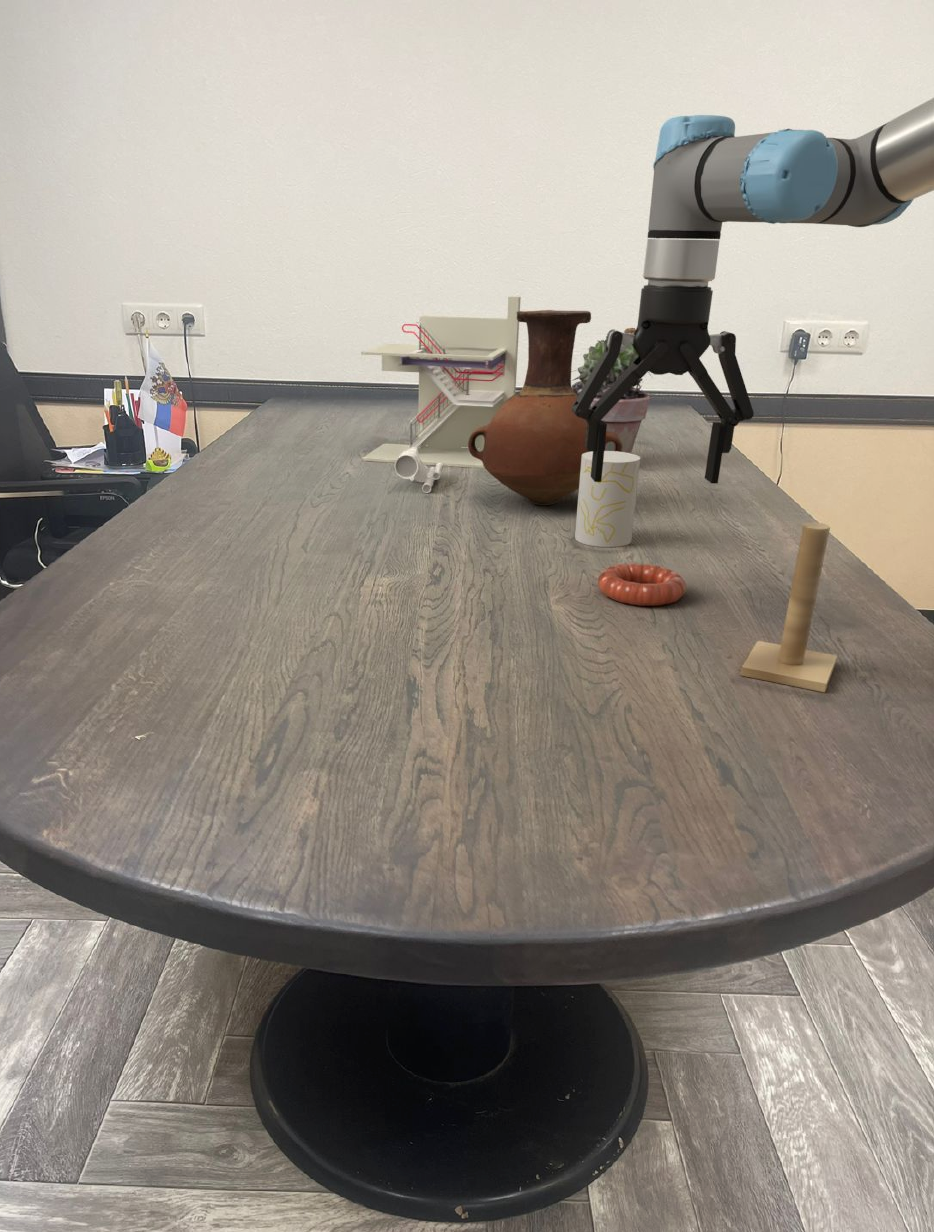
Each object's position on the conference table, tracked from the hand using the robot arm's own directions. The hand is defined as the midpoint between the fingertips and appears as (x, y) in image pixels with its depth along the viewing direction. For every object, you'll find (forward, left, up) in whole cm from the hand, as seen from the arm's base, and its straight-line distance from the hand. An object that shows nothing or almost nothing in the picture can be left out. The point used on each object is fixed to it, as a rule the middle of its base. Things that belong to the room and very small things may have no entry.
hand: (653, 480), depth 111 cm
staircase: (+60, -60, -14) cm, 86 cm away
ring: (0, 0, -13) cm, 13 cm away
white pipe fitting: (+52, -38, -14) cm, 66 cm away
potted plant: (+30, -72, -14) cm, 79 cm away
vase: (+28, -36, -14) cm, 48 cm away
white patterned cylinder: (+12, -21, -14) cm, 28 cm away
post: (-20, +15, -14) cm, 29 cm away
